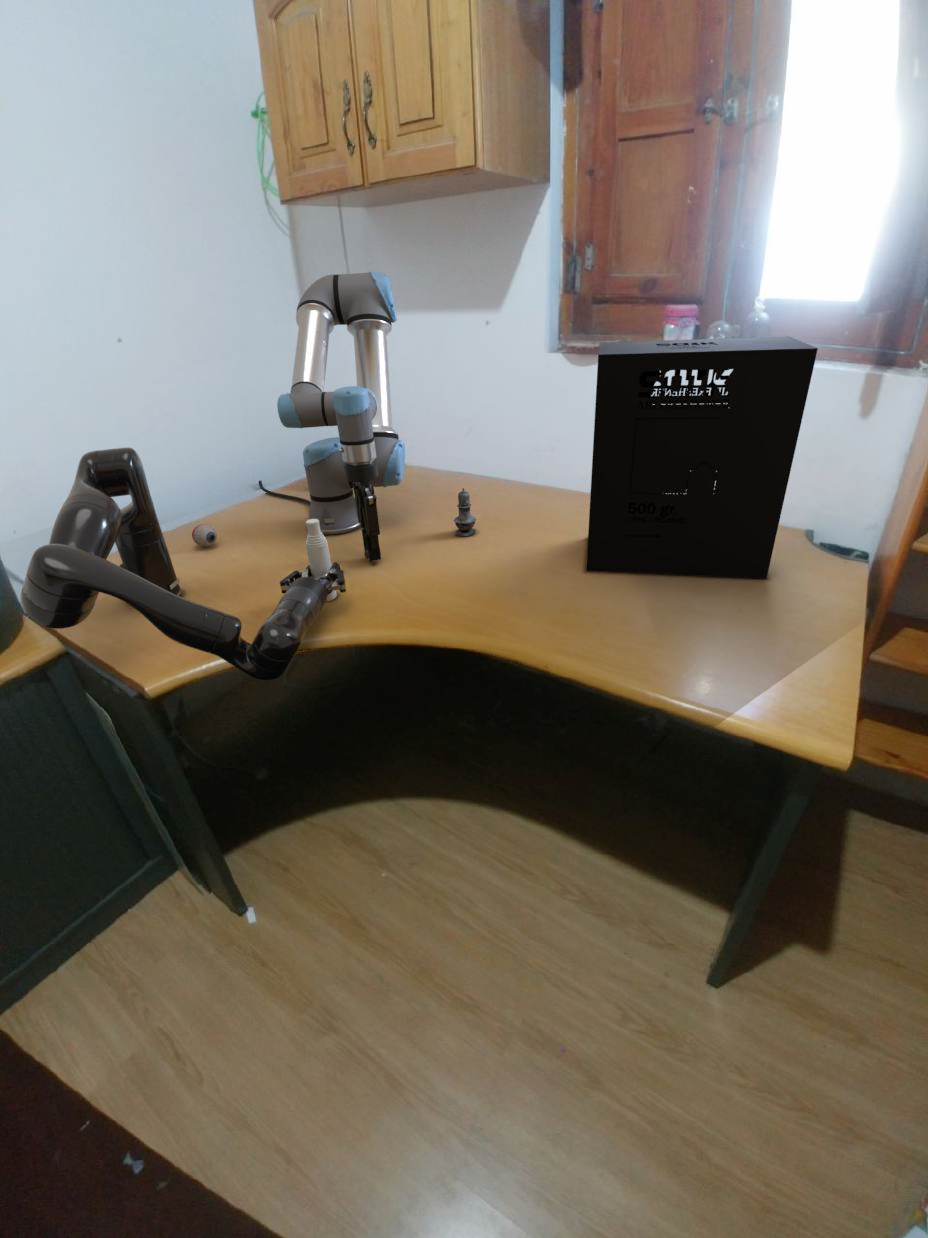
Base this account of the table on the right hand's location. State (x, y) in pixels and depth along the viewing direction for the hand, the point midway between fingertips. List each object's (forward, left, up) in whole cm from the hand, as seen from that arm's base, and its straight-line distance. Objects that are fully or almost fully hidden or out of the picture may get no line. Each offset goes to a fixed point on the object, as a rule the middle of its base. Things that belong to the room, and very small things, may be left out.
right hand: (372, 556), depth 147 cm
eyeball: (-39, -29, -1) cm, 48 cm away
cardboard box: (+46, +53, -1) cm, 71 cm away
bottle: (+10, -17, -1) cm, 20 cm away
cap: (0, 0, +2) cm, 2 cm away
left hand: (+8, -15, +5) cm, 18 cm away
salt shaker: (+1, +27, -1) cm, 27 cm away
